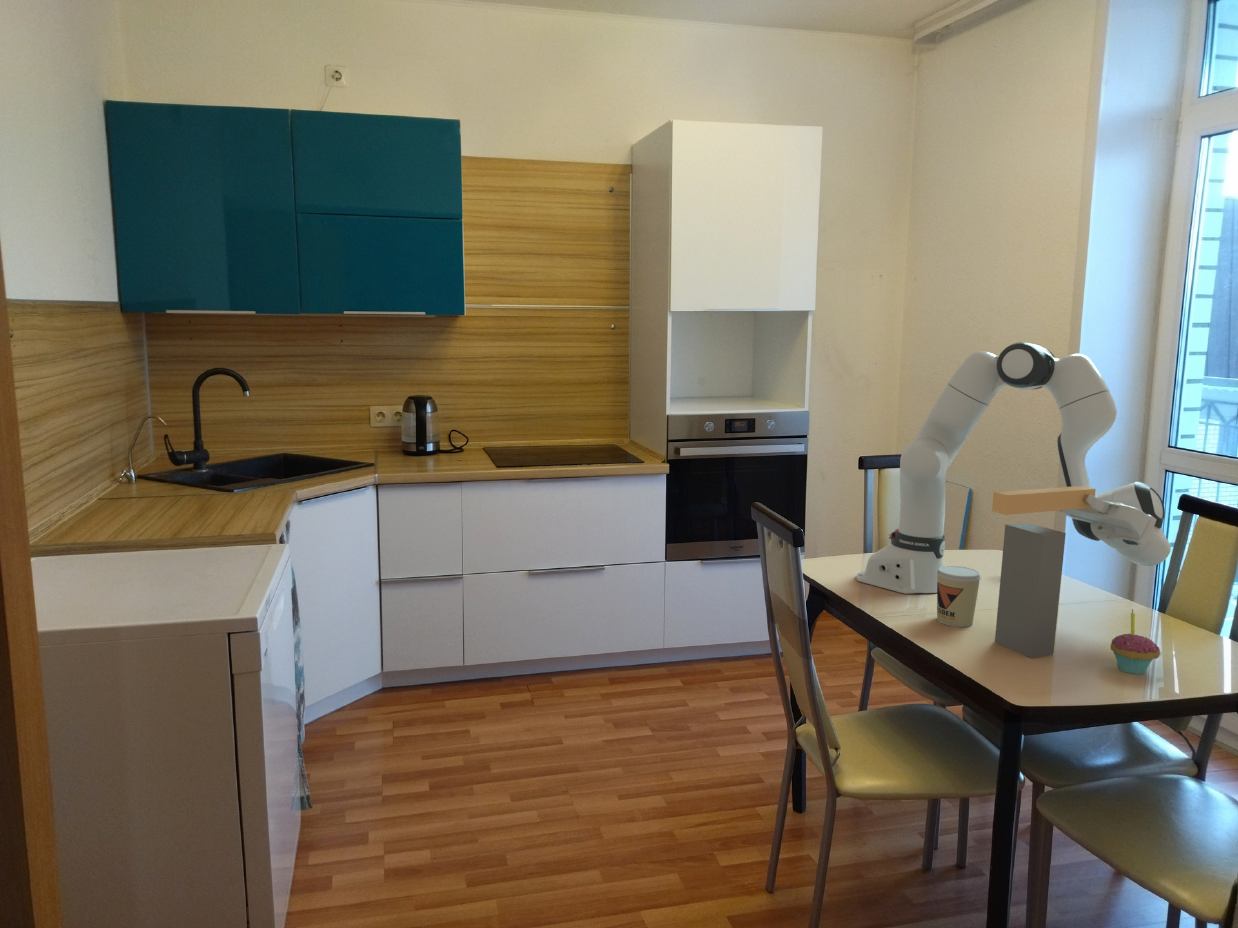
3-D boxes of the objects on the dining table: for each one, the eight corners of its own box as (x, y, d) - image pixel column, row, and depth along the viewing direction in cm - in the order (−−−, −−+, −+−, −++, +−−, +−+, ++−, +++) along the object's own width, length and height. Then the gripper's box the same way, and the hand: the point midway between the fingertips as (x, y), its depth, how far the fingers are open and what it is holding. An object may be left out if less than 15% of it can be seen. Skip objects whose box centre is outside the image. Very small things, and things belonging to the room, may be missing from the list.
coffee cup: (924, 617, 207) (928, 567, 205) (955, 612, 211) (959, 563, 209) (954, 630, 198) (958, 578, 197) (985, 625, 202) (990, 574, 200)
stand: (1016, 638, 194) (1027, 522, 189) (1053, 654, 184) (1065, 533, 180) (994, 641, 191) (1005, 524, 187) (1031, 658, 182) (1043, 535, 178)
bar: (1079, 504, 190) (1081, 485, 189) (1093, 507, 186) (1095, 488, 186) (991, 511, 181) (993, 491, 180) (1005, 514, 178) (1007, 495, 177)
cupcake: (1098, 661, 181) (1105, 605, 179) (1138, 661, 182) (1144, 605, 180) (1126, 678, 173) (1133, 619, 171) (1167, 677, 173) (1174, 619, 171)
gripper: (1080, 501, 202) (1043, 474, 196) (1164, 520, 183) (1125, 490, 177) (1067, 526, 201) (1030, 499, 196) (1150, 547, 183) (1111, 518, 177)
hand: (1076, 495), depth 186 cm, fingers closed on bar, 4 cm apart
